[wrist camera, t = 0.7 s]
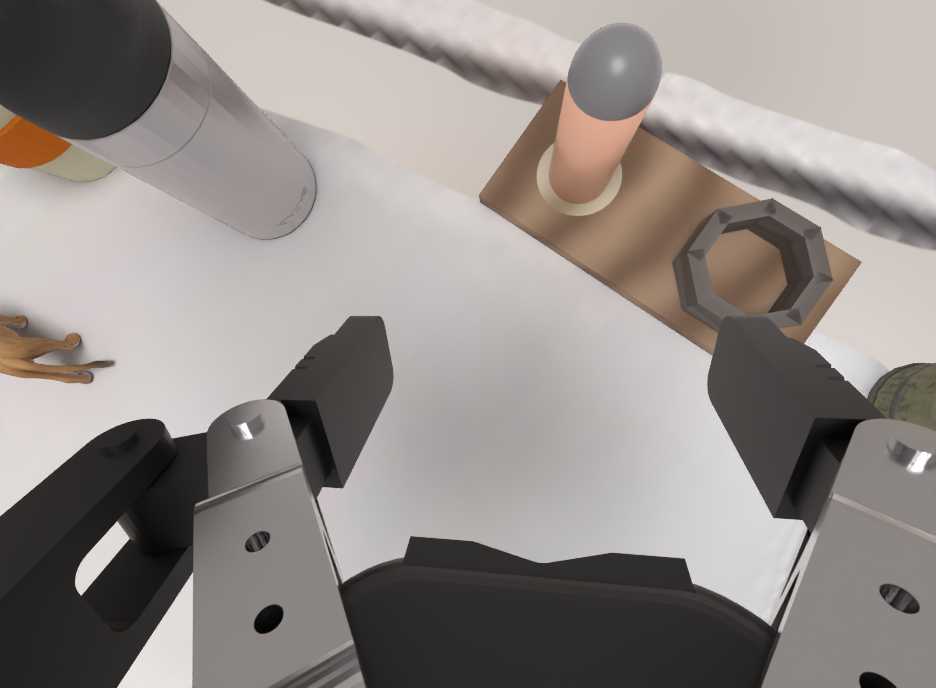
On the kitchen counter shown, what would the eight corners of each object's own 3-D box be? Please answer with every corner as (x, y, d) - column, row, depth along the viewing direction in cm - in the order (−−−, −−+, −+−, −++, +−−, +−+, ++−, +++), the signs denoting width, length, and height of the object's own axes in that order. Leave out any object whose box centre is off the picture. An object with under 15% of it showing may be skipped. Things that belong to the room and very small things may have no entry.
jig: (480, 202, 39) (476, 179, 34) (558, 91, 39) (565, 54, 34) (761, 387, 35) (797, 389, 31) (846, 266, 35) (895, 251, 31)
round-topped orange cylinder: (536, 183, 37) (554, 60, 22) (571, 134, 37) (611, -20, 22) (586, 215, 36) (638, 110, 22) (621, 166, 36) (696, 28, 22)
